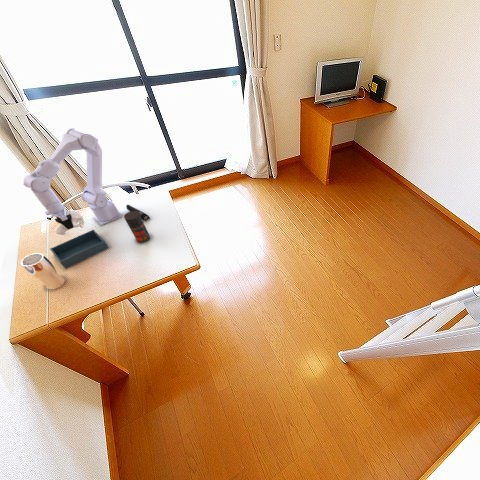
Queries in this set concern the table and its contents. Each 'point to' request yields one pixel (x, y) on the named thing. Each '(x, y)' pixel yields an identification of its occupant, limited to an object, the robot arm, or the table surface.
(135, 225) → the deodorant
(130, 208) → the electric trimmer
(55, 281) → the beige tall cylinder
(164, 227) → the table surface
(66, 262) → the bin
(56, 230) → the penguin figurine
